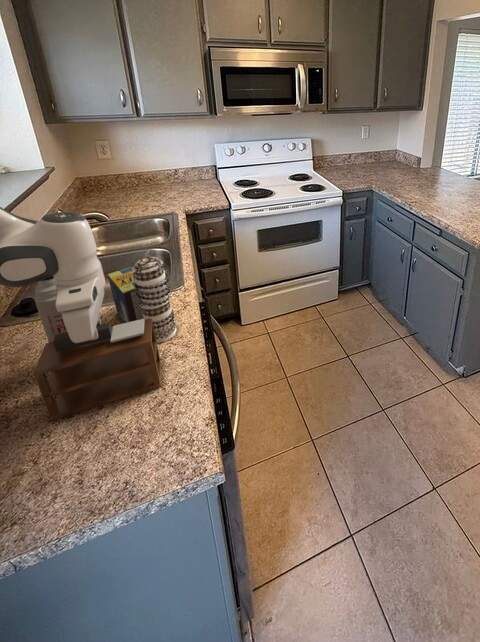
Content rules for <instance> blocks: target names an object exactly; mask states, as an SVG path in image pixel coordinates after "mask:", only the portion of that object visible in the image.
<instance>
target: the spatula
mask: <svg viewBox="0 0 480 642" xmlns="http://www.w3.org/2000/svg"><path fill="white" fill-rule="evenodd" d="M144 323H145V319H140V320H136V321H132V322H128V323H120V324H115V325H113V326H112V323H111V321H109V322H105V323H104V322H103V323H101V324H100V325H96V329H98V332H99V336H98V339H95V340H88V341H85V342H80V343H74V342H73V341H72V340H71V339H70V337H69V334H68V332H66V333H62V334H57V335H55V338H54V340H53V343H54V346H55V349H56V352H58V351H62V350H66V349H70V348H74V347H78V346H82V345H86V344H90V343H94V342H98V341H102V340H106V339H110V338H111V340H110V342H111V343H113V342H117V341H120V340H124V339H128V338H132V337H136V336H140V335H144ZM112 327H113V330H112Z"/></svg>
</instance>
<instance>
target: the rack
mask: <svg viewBox="0 0 480 642" xmlns="http://www.w3.org/2000/svg"><path fill="white" fill-rule="evenodd" d="M111 328H112V330H113V326H111ZM110 340H111V338H110V339H106V340H102V341H98V342H94V343H90V344H86V345H82V346H78V347H74V348H70V349H66V350H62V351H58V352H56V349H55V346H54V343H53V342H49V341H48V342H46V343H45V345H44V347H43V349H42V351H41V354H40V356H39V357H38V361H37V363H36V366H35V368H34V370H33V374H34V378H35V380H36V383H37V386H38V388H39V391H40V394H41V397H42V400H43V403H44V405H45V407H46V410H47V413H48V416H49V418H50V420H51V421H54V420H57V419H60V418H63V417H67V416H70V415H73V414H77V413H79V412H82V411H87V410H89V409H92V408H96V407H100V406H102V405H105V404H109V403H112V402H115V401H119V400H122V399H124V398H128V397H131V396H135V395H138V394H141V393H144V392H148V391H152V390H154V389H157V388H161V387H162V377H161V376H162V373H161V370H162V367H161V363H162V360H161V355H160V351H159V346H158V343H157V341H156V336H155V332H154V327H153V322H152V318H149V319H145V323H144V335H140V336H136V337H132V338H128V339H124V340H120V341H117V342H113V343H111V342H110ZM47 373H49V375H48V377H47ZM55 396H56V397H55Z"/></svg>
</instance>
